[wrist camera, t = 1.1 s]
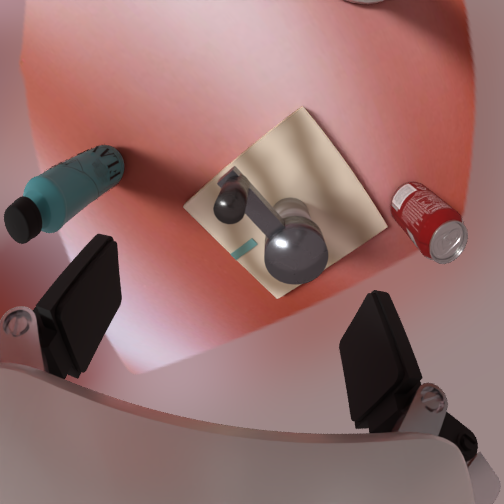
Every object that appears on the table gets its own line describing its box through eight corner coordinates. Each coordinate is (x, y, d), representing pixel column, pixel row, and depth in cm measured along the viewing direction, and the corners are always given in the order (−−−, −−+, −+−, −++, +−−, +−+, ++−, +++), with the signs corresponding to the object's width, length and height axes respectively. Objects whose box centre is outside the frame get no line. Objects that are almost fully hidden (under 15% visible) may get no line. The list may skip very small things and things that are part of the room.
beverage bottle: (138, 171, 37) (50, 242, 20) (105, 192, 38) (20, 266, 21) (116, 132, 34) (13, 178, 17) (85, 156, 35) (-13, 213, 18)
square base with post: (301, 106, 31) (312, 109, 24) (384, 222, 39) (406, 252, 31) (185, 202, 39) (166, 230, 32) (277, 292, 46) (277, 331, 39)
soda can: (380, 197, 37) (417, 238, 27) (416, 171, 34) (463, 204, 24) (400, 231, 39) (435, 278, 29) (433, 206, 37) (476, 247, 26)
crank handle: (334, 246, 31) (349, 288, 25) (288, 276, 34) (292, 321, 27) (253, 149, 26) (248, 168, 20) (205, 190, 29) (186, 221, 22)
